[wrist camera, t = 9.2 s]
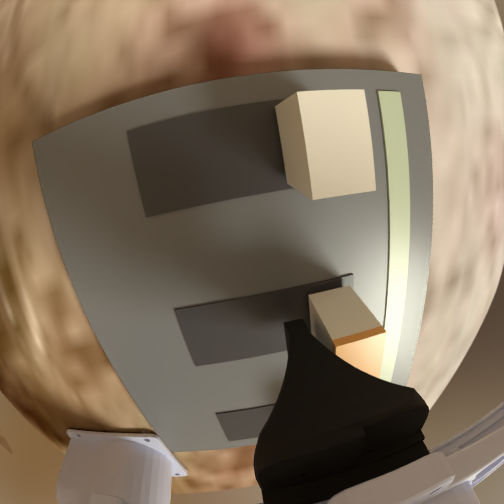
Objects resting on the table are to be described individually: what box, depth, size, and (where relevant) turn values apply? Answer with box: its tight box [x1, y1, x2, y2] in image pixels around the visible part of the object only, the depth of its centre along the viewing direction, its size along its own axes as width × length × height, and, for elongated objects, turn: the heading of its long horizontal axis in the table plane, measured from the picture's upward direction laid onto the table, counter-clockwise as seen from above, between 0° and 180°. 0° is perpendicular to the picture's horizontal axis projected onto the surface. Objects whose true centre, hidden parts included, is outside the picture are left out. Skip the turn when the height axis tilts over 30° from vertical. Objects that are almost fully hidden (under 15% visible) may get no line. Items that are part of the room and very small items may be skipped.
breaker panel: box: [32, 69, 433, 452], centre depth 13 cm, size 18×22×5 cm
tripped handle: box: [308, 285, 387, 378], centre depth 12 cm, size 2×3×4 cm, turn 9°
